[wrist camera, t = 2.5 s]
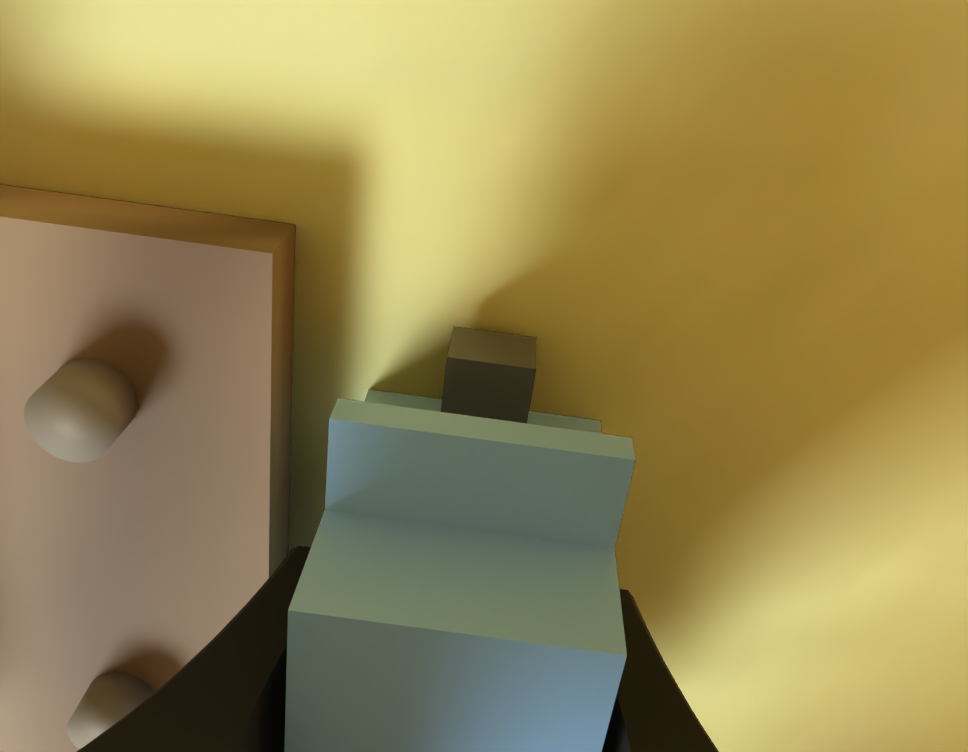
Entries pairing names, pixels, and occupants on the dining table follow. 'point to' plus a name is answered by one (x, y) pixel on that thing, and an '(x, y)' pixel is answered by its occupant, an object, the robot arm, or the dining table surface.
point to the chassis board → (132, 448)
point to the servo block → (461, 571)
